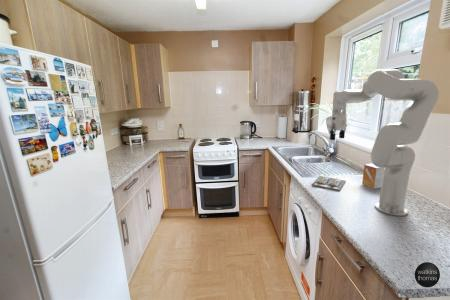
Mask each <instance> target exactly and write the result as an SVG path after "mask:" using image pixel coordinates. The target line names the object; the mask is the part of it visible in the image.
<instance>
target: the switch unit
mask: <svg viewBox="0 0 450 300" xmlns="http://www.w3.org/2000/svg"><path fill="white" fill-rule="evenodd" d="M331 178H332V177H326V176H324V184H318V182H319V176H318V177H317V178H316V179H315V180H314V182H312V183H311V187H316V188H320V189H325V190H329V191H335V192H341V190H342V188H343V187H344V185H345V184H346V180H345V179H344V180H343V179H338V178H337V181H336V184H337V185H336V187H334V186H330V184H331Z"/></svg>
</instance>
